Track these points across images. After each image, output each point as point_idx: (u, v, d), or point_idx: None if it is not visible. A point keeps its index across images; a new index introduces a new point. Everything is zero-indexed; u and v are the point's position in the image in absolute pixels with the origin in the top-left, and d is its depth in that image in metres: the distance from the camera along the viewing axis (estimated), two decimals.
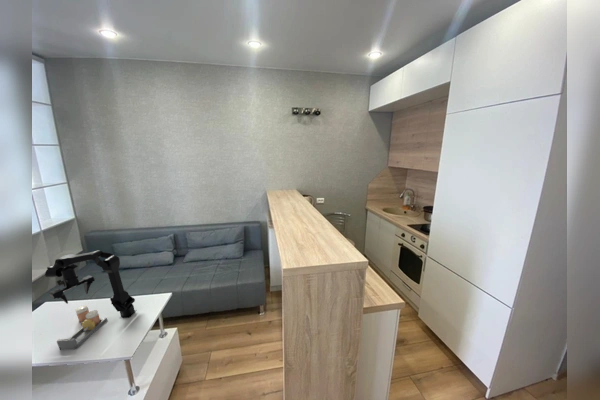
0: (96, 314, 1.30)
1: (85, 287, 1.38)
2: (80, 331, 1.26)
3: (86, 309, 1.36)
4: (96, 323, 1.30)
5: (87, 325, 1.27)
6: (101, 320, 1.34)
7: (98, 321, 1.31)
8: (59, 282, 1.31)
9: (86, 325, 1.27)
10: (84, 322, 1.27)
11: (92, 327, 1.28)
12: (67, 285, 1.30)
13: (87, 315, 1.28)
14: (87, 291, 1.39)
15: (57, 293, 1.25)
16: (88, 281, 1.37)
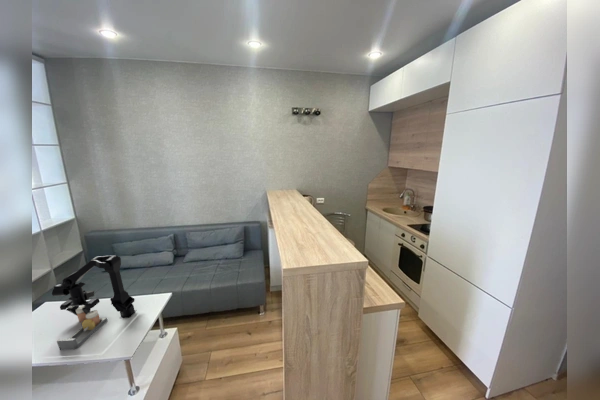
0: (96, 314, 1.30)
1: None
2: (80, 331, 1.26)
3: None
4: (96, 323, 1.30)
5: (87, 325, 1.27)
6: (101, 320, 1.34)
7: (98, 321, 1.31)
8: None
9: (86, 325, 1.27)
10: (84, 322, 1.27)
11: (92, 327, 1.28)
12: None
13: (87, 315, 1.28)
14: None
15: (62, 306, 1.31)
16: (85, 306, 1.32)
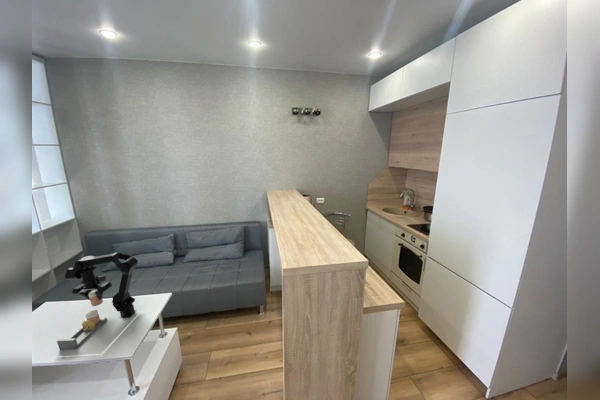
0: (96, 314, 1.30)
1: None
2: (80, 331, 1.26)
3: None
4: (96, 323, 1.30)
5: (87, 325, 1.27)
6: (101, 320, 1.34)
7: (98, 321, 1.31)
8: None
9: (86, 325, 1.27)
10: (84, 322, 1.27)
11: (92, 327, 1.28)
12: None
13: (87, 315, 1.28)
14: (99, 298, 1.34)
15: (74, 290, 1.31)
16: (98, 290, 1.31)
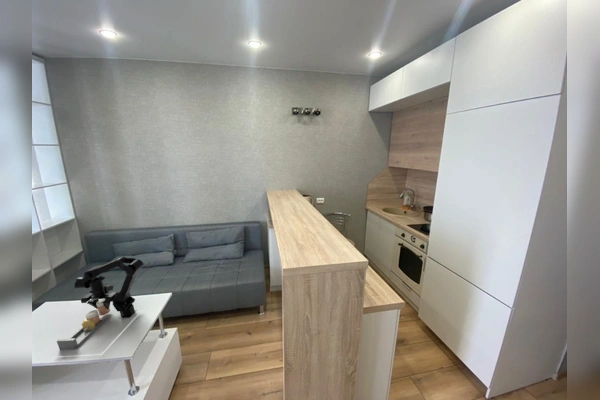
0: (96, 314, 1.30)
1: None
2: (80, 331, 1.26)
3: None
4: (96, 323, 1.30)
5: (87, 325, 1.27)
6: (101, 320, 1.34)
7: (98, 321, 1.31)
8: None
9: (86, 325, 1.27)
10: (84, 322, 1.27)
11: (92, 327, 1.28)
12: None
13: (87, 315, 1.28)
14: (106, 307, 1.36)
15: (83, 299, 1.33)
16: (106, 300, 1.33)
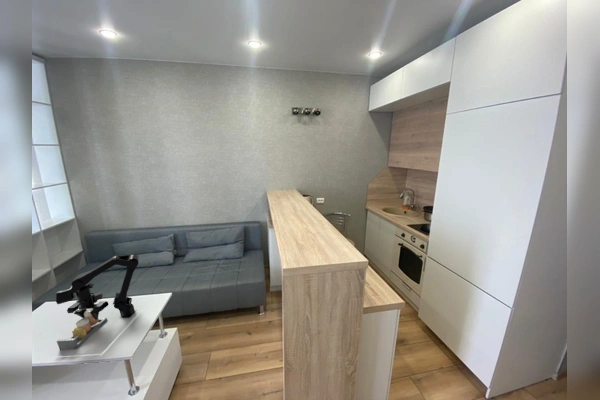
0: (87, 322, 1.24)
1: None
2: None
3: None
4: (87, 331, 1.24)
5: (78, 333, 1.22)
6: (101, 320, 1.34)
7: (89, 329, 1.25)
8: None
9: (77, 333, 1.22)
10: (75, 330, 1.21)
11: (83, 335, 1.22)
12: None
13: (77, 323, 1.23)
14: (94, 317, 1.28)
15: (69, 309, 1.25)
16: (94, 310, 1.25)
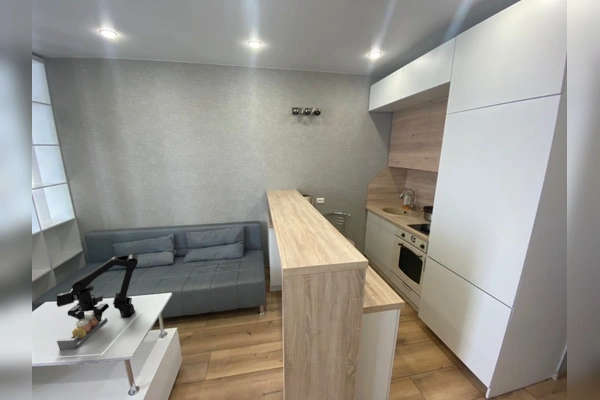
0: (87, 322, 1.24)
1: None
2: None
3: None
4: (87, 331, 1.24)
5: (78, 333, 1.22)
6: (101, 320, 1.34)
7: (89, 329, 1.25)
8: None
9: (77, 333, 1.21)
10: (74, 330, 1.21)
11: (83, 335, 1.22)
12: None
13: (77, 323, 1.23)
14: (98, 320, 1.29)
15: (70, 311, 1.25)
16: (94, 312, 1.25)
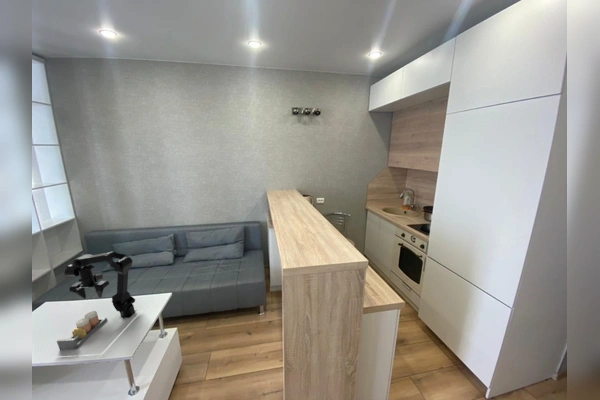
0: (87, 322, 1.24)
1: None
2: None
3: (95, 315, 1.30)
4: (87, 331, 1.24)
5: (78, 333, 1.22)
6: (101, 320, 1.34)
7: (89, 329, 1.25)
8: None
9: (77, 333, 1.21)
10: (74, 330, 1.21)
11: (83, 335, 1.22)
12: None
13: (77, 323, 1.23)
14: (99, 295, 1.37)
15: (71, 287, 1.32)
16: (96, 288, 1.33)
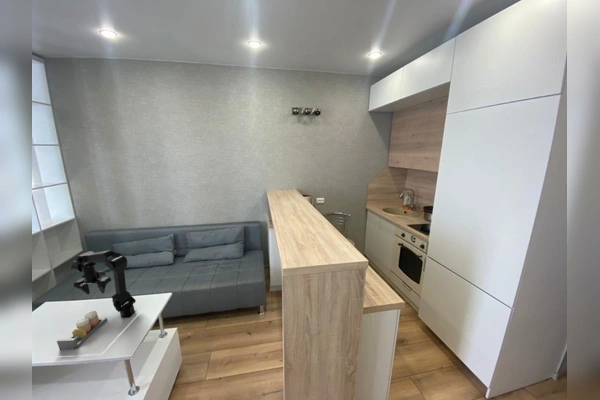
0: (87, 322, 1.24)
1: None
2: None
3: (95, 315, 1.30)
4: (87, 331, 1.24)
5: (78, 333, 1.22)
6: (101, 320, 1.34)
7: (89, 329, 1.25)
8: None
9: (77, 333, 1.21)
10: (74, 330, 1.21)
11: (83, 335, 1.22)
12: None
13: (77, 323, 1.23)
14: (101, 291, 1.41)
15: (75, 283, 1.37)
16: (98, 284, 1.37)
